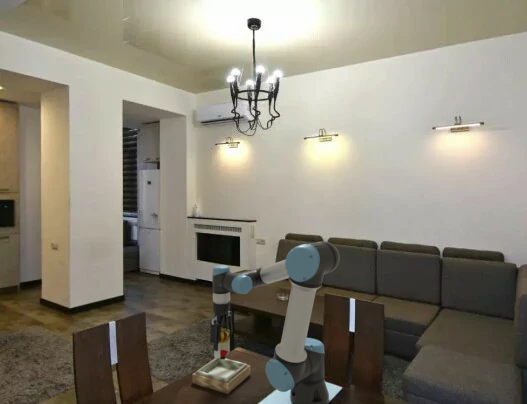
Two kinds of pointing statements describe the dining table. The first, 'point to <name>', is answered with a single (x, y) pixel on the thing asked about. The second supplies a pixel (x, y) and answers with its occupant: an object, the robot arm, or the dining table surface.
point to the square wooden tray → (221, 375)
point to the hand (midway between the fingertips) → (222, 354)
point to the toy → (224, 343)
